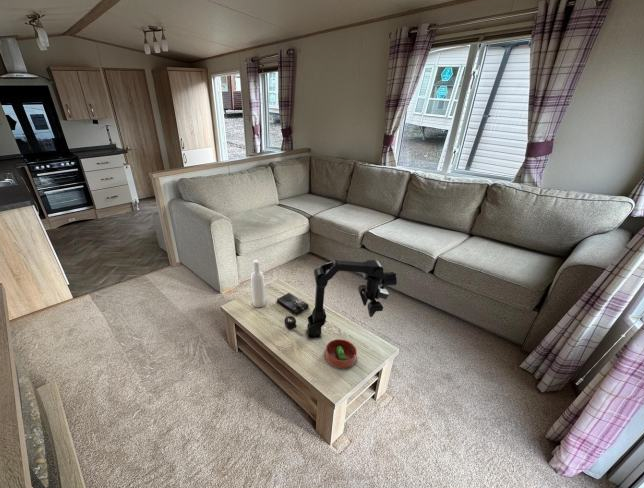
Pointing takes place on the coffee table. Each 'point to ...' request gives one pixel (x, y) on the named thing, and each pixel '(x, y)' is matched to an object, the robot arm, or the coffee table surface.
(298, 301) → the stove knob
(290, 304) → the stove
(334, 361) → the red bowl
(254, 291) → the bottle
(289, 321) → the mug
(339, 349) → the cucumber
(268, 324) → the coffee table surface
